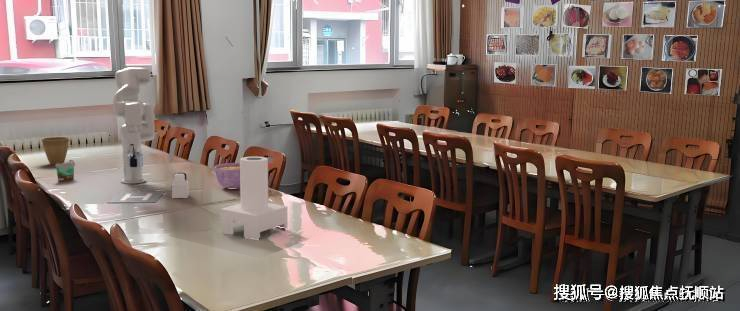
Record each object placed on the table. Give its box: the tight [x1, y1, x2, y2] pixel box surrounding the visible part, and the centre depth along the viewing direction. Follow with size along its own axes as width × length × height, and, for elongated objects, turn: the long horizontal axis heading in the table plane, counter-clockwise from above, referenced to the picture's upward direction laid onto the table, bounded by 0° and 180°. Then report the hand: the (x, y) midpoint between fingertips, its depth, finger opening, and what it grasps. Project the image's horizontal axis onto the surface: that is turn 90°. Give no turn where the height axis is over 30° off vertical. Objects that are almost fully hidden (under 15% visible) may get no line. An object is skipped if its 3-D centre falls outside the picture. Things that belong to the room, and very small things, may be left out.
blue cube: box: [127, 153, 144, 168], centre depth 317 cm, size 6×6×6 cm
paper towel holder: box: [220, 156, 288, 239], centre depth 265 cm, size 19×19×30 cm
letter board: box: [106, 191, 164, 204], centre depth 320 cm, size 22×22×1 cm
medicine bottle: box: [171, 172, 190, 200], centre depth 322 cm, size 7×7×12 cm
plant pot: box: [41, 136, 70, 166], centre depth 400 cm, size 15×15×16 cm
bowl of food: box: [213, 162, 240, 189], centre depth 345 cm, size 20×20×12 cm
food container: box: [55, 159, 76, 183], centre depth 356 cm, size 12×6×10 cm, turn 168°
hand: (135, 165), depth 318 cm, fingers closed on blue cube, 6 cm apart
